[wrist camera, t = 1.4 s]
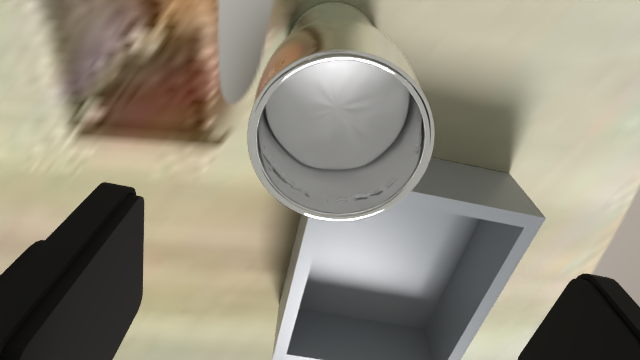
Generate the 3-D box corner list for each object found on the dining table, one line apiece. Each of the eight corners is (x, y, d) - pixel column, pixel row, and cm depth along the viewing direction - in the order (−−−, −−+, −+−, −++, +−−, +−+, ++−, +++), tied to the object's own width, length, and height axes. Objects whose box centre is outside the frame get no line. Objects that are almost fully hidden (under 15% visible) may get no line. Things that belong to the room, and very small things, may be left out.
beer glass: (274, 92, 29) (233, 212, 16) (287, -16, 25) (249, 24, 12) (371, 109, 29) (409, 238, 16) (397, 5, 26) (470, 64, 13)
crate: (320, 134, 30) (319, 172, 25) (509, 173, 32) (545, 217, 27) (279, 304, 39) (272, 360, 34) (429, 329, 41) (444, 386, 35)
